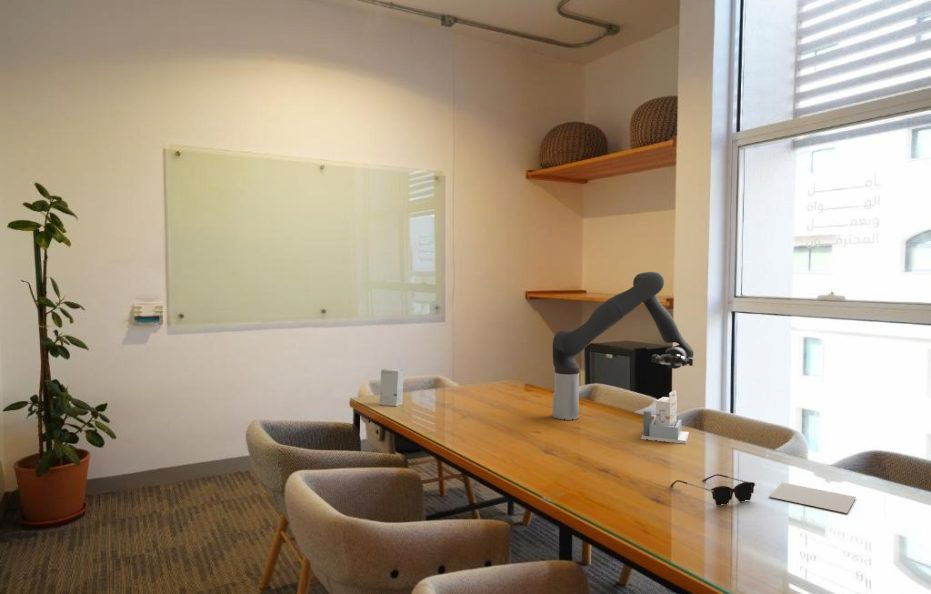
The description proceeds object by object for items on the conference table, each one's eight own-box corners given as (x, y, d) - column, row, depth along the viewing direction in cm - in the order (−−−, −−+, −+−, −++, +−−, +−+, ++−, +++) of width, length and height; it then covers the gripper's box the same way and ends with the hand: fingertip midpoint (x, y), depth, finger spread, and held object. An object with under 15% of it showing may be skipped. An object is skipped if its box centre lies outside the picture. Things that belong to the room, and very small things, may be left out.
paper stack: (790, 476, 173) (790, 473, 173) (900, 497, 157) (900, 494, 157) (768, 499, 155) (768, 496, 155) (890, 525, 139) (890, 522, 139)
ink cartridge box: (662, 429, 219) (662, 387, 218) (676, 431, 216) (677, 389, 216) (654, 434, 212) (655, 391, 211) (669, 437, 209) (670, 393, 208)
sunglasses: (712, 509, 148) (712, 488, 148) (665, 491, 163) (665, 472, 163) (755, 501, 153) (755, 481, 153) (706, 485, 168) (706, 466, 168)
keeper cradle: (641, 438, 210) (642, 412, 210) (646, 430, 222) (647, 405, 222) (685, 443, 204) (686, 416, 204) (688, 434, 216) (689, 408, 216)
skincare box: (379, 405, 260) (379, 369, 260) (386, 402, 266) (386, 367, 266) (397, 406, 258) (397, 370, 257) (403, 404, 263) (404, 368, 263)
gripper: (656, 346, 241) (650, 349, 226) (695, 349, 235) (692, 353, 220) (655, 365, 241) (649, 370, 226) (694, 369, 235) (691, 374, 221)
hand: (670, 361), depth 223 cm, fingers open, 8 cm apart
